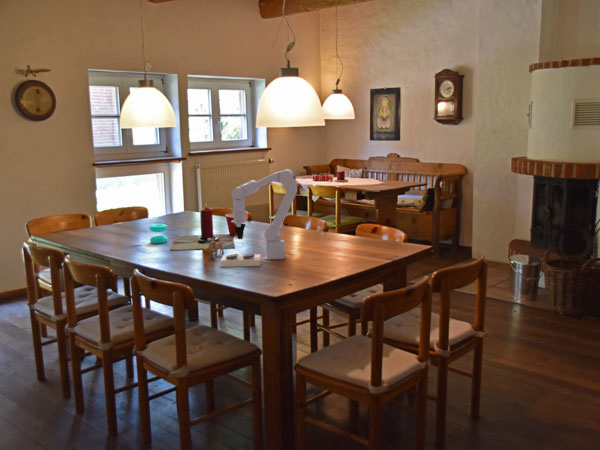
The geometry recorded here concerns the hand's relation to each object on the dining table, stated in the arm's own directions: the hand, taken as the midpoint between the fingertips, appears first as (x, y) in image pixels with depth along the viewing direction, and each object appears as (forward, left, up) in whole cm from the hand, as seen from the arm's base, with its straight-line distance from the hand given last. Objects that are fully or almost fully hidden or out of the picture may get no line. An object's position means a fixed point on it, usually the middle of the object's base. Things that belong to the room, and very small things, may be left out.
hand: (240, 238), depth 280 cm
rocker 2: (-5, +14, -6) cm, 16 cm away
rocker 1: (+3, +14, -6) cm, 16 cm away
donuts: (+50, -43, -10) cm, 66 cm away
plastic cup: (+9, -62, -10) cm, 63 cm away
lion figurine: (+12, -4, -10) cm, 16 cm away
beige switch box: (-1, +12, -9) cm, 16 cm away
